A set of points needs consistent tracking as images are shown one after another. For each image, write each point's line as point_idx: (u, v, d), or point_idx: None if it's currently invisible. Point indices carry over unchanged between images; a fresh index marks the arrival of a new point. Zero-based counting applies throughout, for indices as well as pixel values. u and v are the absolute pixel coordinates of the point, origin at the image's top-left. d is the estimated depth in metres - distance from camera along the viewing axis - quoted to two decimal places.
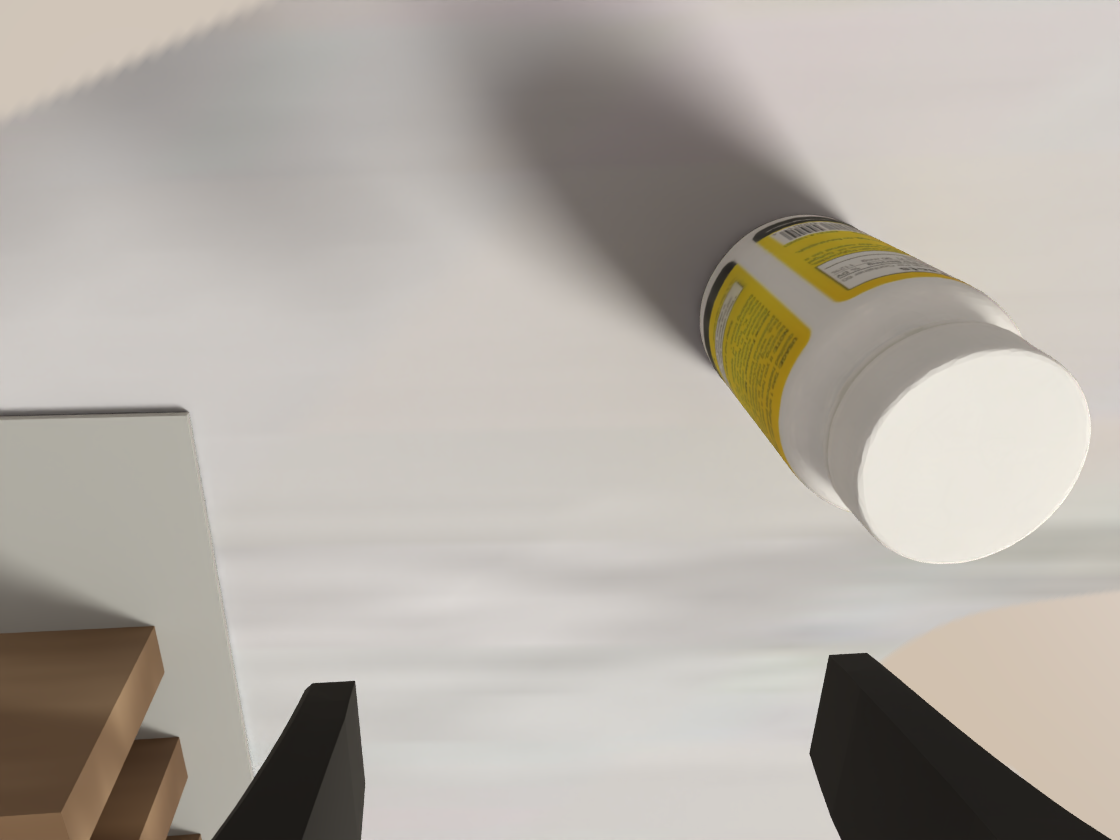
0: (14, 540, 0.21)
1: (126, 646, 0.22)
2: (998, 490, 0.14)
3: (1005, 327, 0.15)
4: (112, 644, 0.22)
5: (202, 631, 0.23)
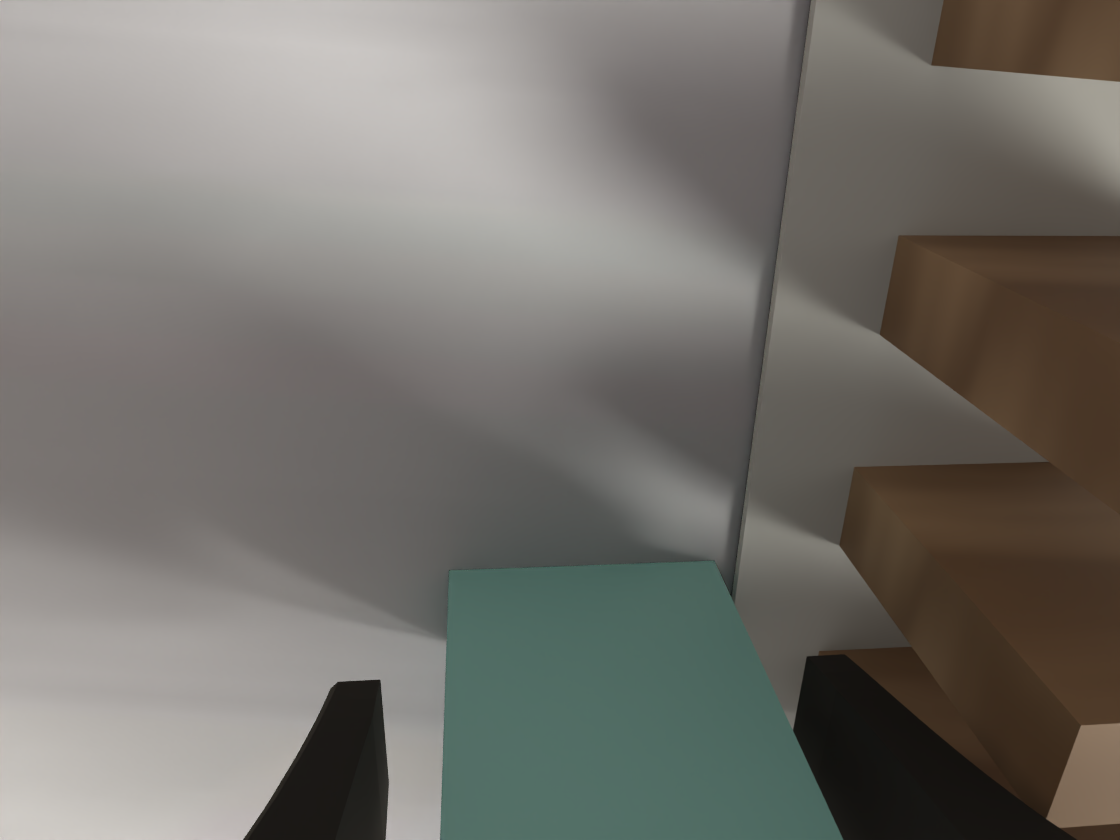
0: None
1: None
2: None
3: None
4: None
5: None
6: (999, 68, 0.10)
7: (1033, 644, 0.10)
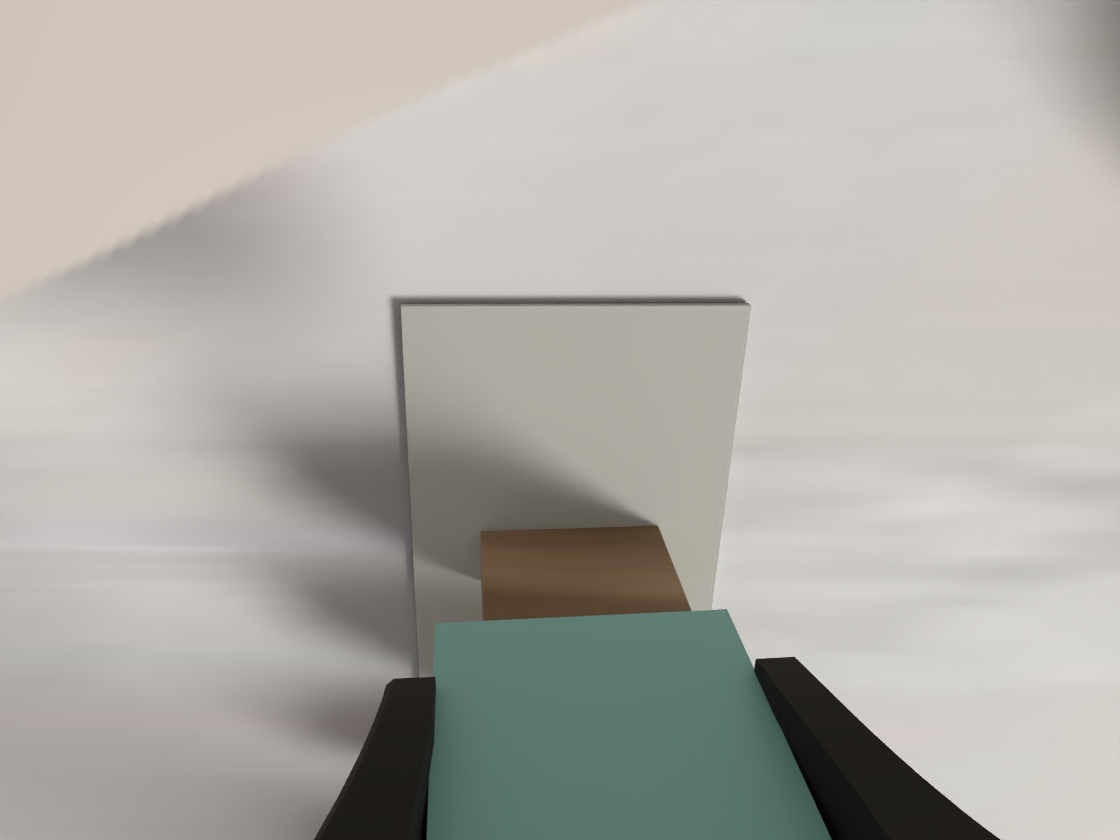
0: (556, 432, 0.22)
1: (647, 542, 0.22)
2: None
3: None
4: (632, 540, 0.22)
5: (700, 532, 0.23)
6: (483, 618, 0.22)
7: None
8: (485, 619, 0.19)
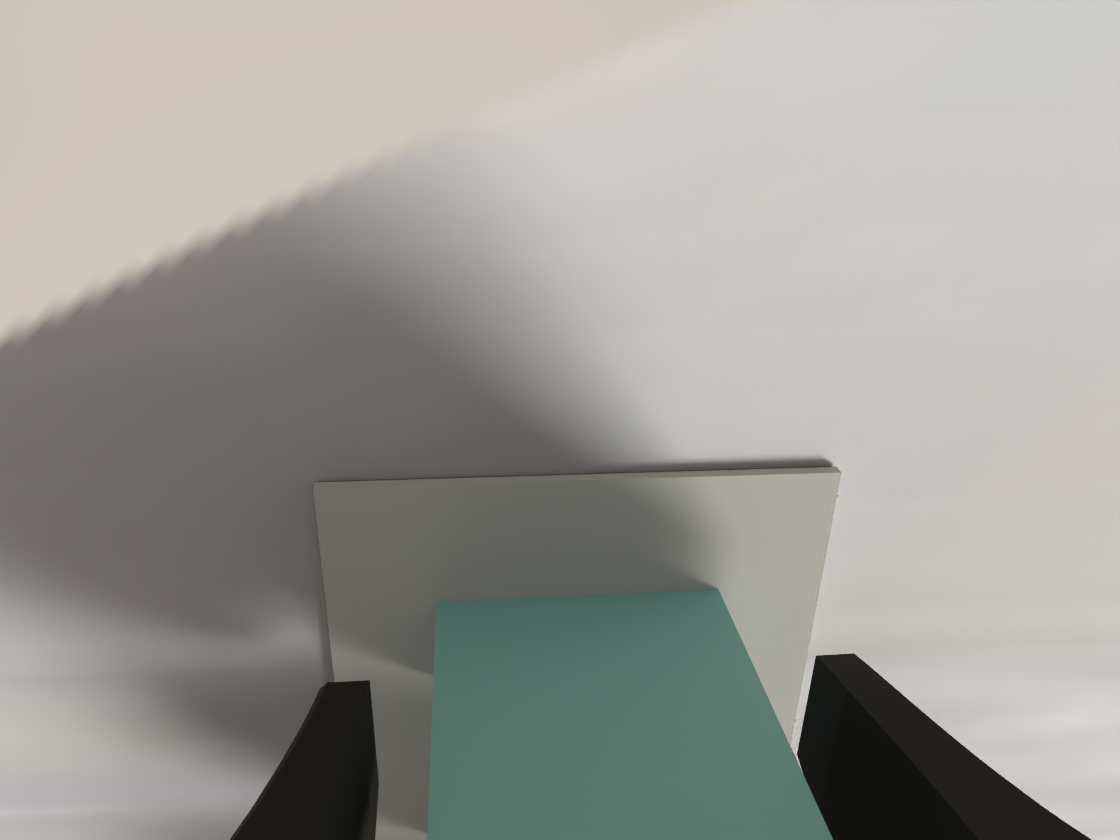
0: None
1: None
2: None
3: None
4: None
5: None
6: None
7: None
8: None
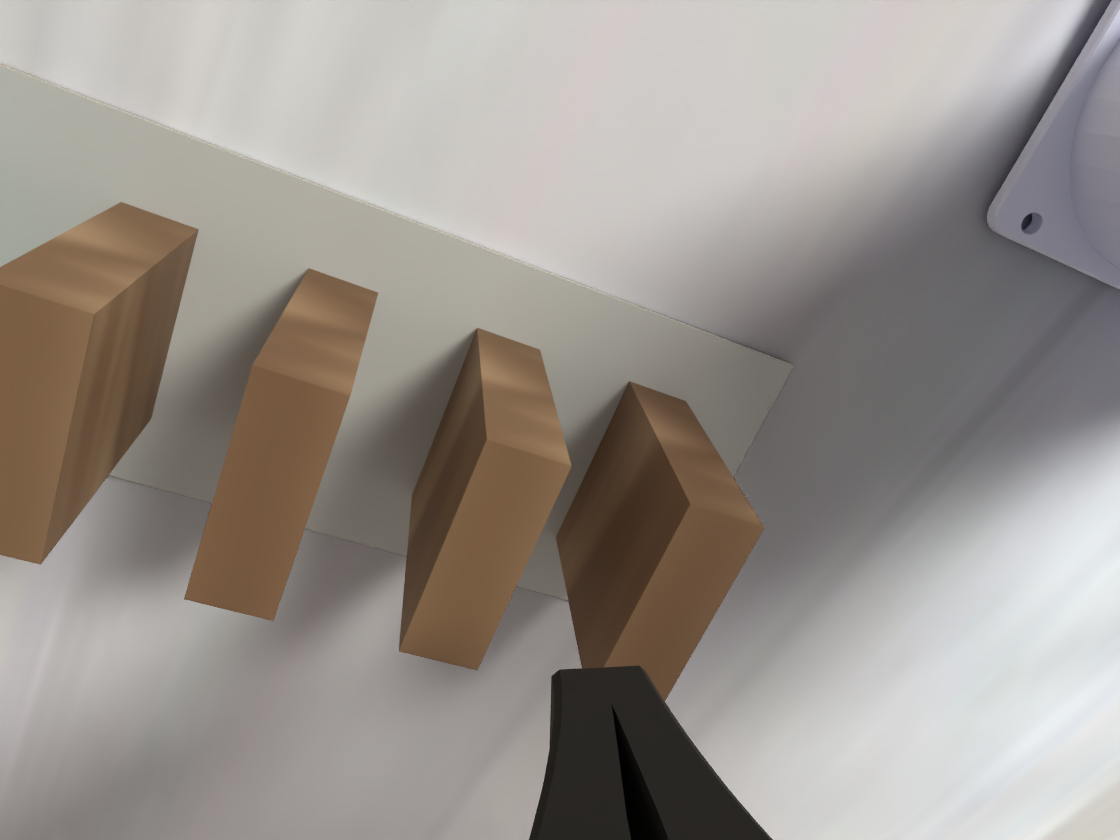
0: None
1: None
2: None
3: None
4: None
5: (146, 151, 0.18)
6: None
7: (406, 597, 0.17)
8: None
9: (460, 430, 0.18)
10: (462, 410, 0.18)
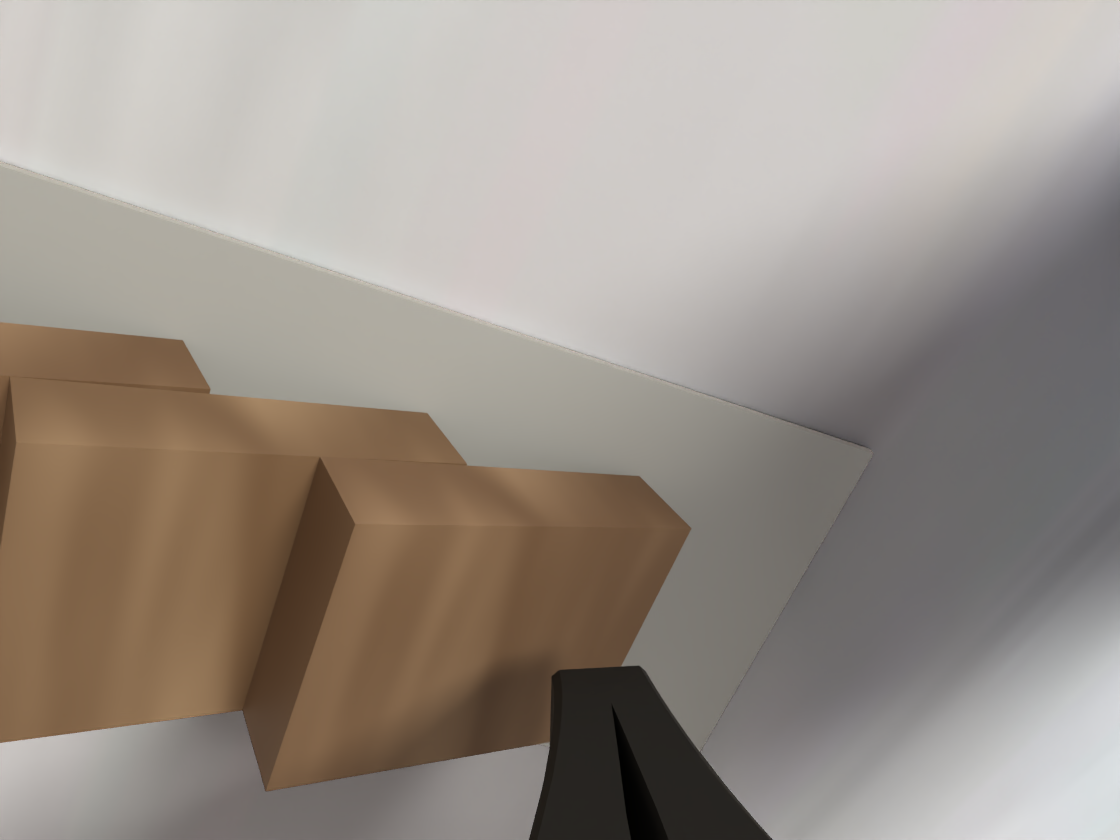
0: None
1: None
2: None
3: None
4: None
5: None
6: None
7: None
8: None
9: None
10: None
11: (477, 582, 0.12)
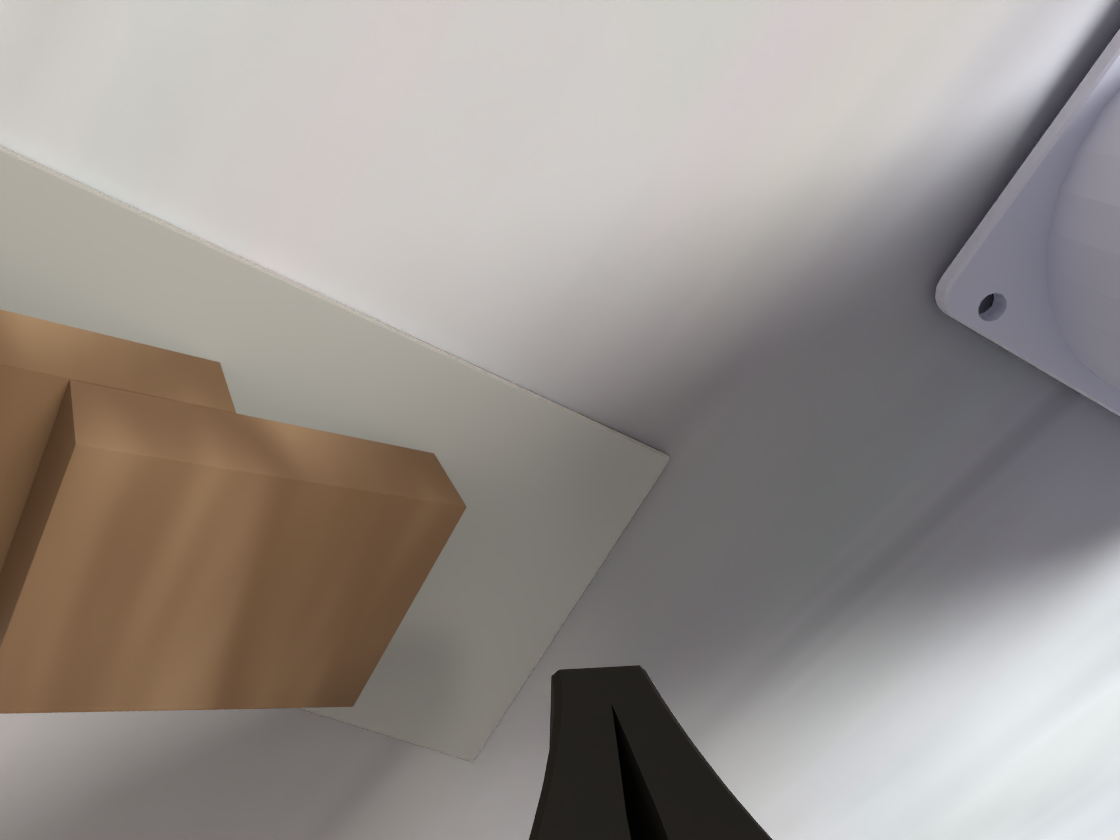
0: None
1: None
2: None
3: None
4: None
5: None
6: None
7: None
8: None
9: None
10: None
11: (222, 526, 0.12)
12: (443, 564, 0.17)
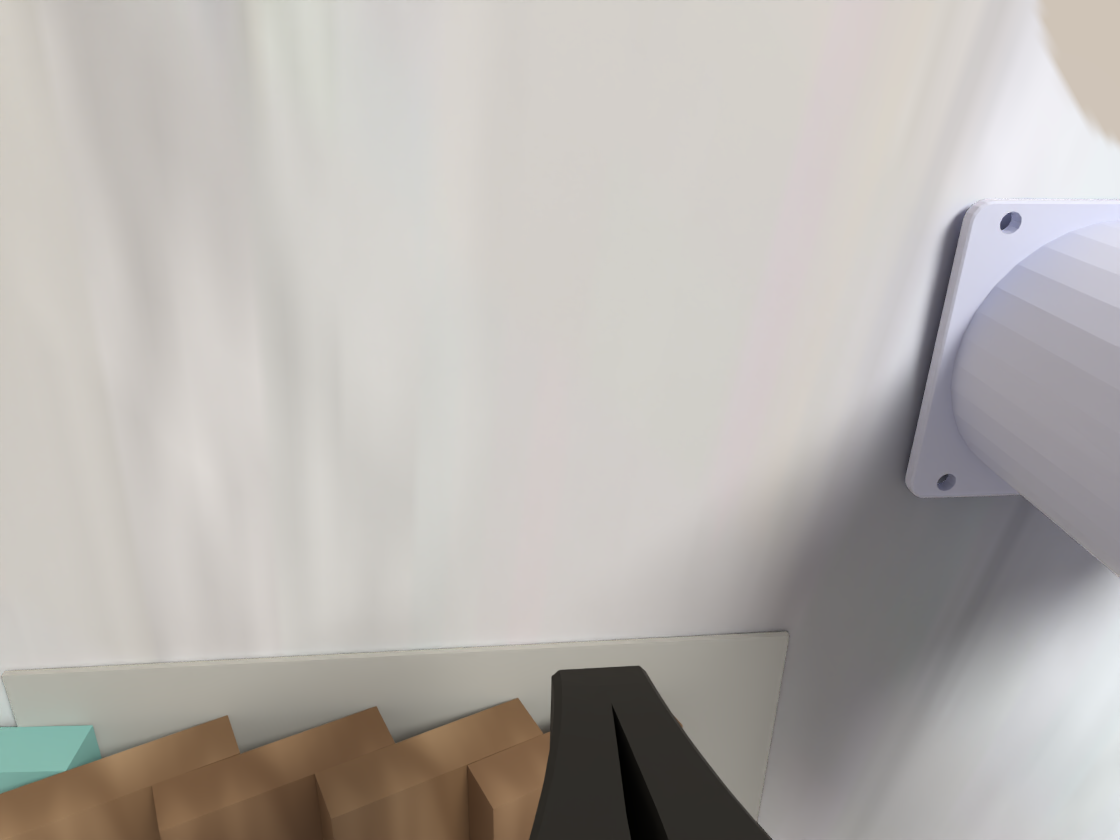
0: None
1: None
2: None
3: None
4: None
5: (251, 679, 0.24)
6: None
7: None
8: None
9: None
10: None
11: None
12: None
